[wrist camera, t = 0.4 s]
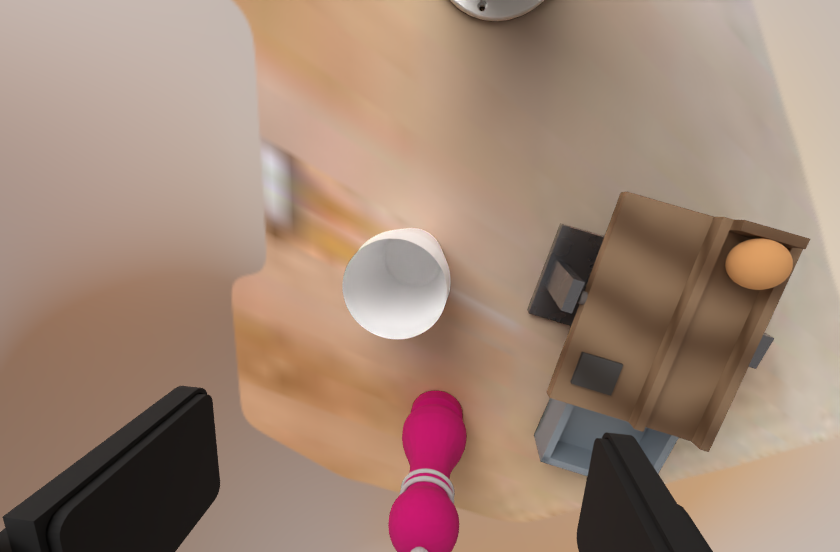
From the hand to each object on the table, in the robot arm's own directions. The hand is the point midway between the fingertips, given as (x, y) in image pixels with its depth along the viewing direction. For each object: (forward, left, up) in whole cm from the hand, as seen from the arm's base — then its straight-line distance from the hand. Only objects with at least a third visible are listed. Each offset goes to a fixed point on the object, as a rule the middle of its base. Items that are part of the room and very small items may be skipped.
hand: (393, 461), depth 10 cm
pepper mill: (+22, +5, -35) cm, 42 cm away
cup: (+4, -3, -35) cm, 35 cm away
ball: (-6, +23, -25) cm, 35 cm away
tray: (+1, +20, -27) cm, 33 cm away
